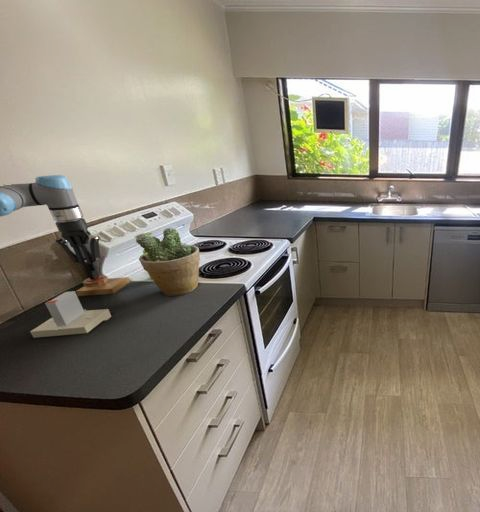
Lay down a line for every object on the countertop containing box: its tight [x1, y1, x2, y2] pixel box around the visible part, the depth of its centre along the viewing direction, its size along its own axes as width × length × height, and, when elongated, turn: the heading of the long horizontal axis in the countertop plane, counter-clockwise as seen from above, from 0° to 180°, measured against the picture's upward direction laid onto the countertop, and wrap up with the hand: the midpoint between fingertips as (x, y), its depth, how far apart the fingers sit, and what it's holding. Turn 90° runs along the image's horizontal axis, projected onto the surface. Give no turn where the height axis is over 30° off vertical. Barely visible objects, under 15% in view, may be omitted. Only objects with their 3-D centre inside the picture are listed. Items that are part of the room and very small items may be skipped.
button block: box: [75, 274, 131, 297], centre depth 113 cm, size 12×10×4 cm
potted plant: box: [135, 227, 201, 297], centre depth 109 cm, size 18×19×25 cm
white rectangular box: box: [44, 290, 85, 326], centre depth 88 cm, size 7×2×8 cm, turn 9°
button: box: [87, 275, 102, 282], centre depth 113 cm, size 4×4×2 cm
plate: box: [29, 308, 112, 339], centre depth 90 cm, size 14×11×3 cm
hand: (94, 277), depth 113 cm, fingers closed
